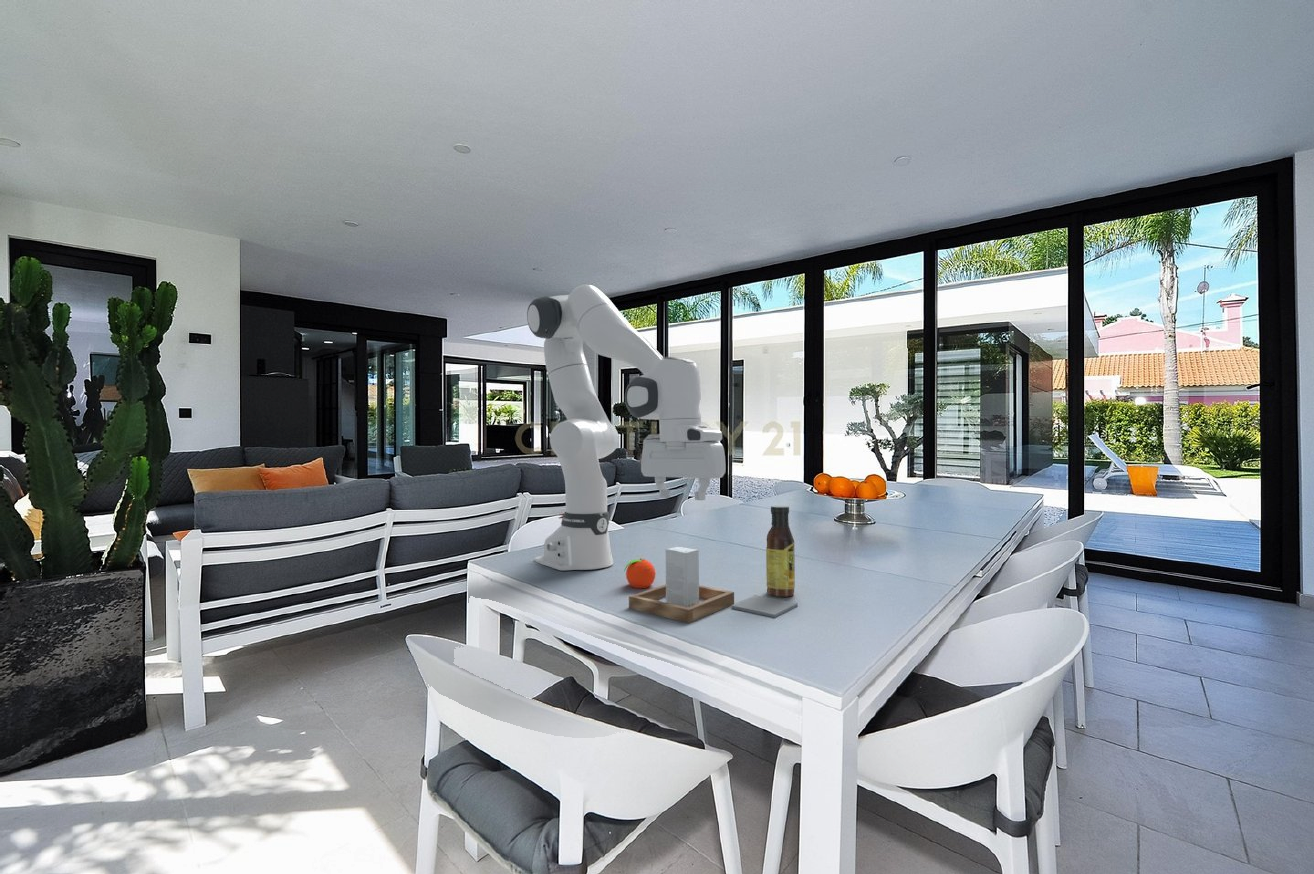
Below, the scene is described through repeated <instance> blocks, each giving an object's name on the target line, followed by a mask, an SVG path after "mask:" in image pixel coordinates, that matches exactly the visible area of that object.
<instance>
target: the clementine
mask: <svg viewBox="0 0 1314 874" xmlns="http://www.w3.org/2000/svg"><path fill="white" fill-rule="evenodd" d="M625 571H626V572H625ZM623 572H625V577H626V580H627V582H628V585H630V586H631V587H632V588H635V589H647V588H649V587H650V586H651V585H653V583H654V582H655V578H656V575H657V574H656V569H655V566H654V565H653V564H652V563H651V562H650V560H647V559H643V558H639V559H634V560H631V561H630V562H628V563H627V565H625V568H624V571H623Z"/></svg>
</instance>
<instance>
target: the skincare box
mask: <svg viewBox="0 0 1314 874" xmlns="http://www.w3.org/2000/svg"><path fill="white" fill-rule="evenodd" d="M699 551H700V550H699V549H695V548H688V547H681V546H675V547H670V548H665V584H666V597H665V603H670V604H674V605H679V606H683V607H690V606H693V605H695V604H698V603H700V597H699V585H700V567H699V566H700V563H699V561H700V559H699V557H700V556H699V554H700V553H699Z"/></svg>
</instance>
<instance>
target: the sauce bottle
mask: <svg viewBox="0 0 1314 874" xmlns="http://www.w3.org/2000/svg"><path fill="white" fill-rule="evenodd" d="M770 514H771V527H770V529H769V530H768V532H767V534H766V548H765V549H766V558H765V559H766V560H765V561H766V563H765V565H766V567H765V568H766V593H767V594H768V595H770V596H772V597H776V598H787V597H791V596H793V595H794V594H795V587H796V583H795V580H796V579H795V578H796V575H795V574H796V573H795V572H796V571H795V567H796V566H795V564H796V563H795V558H796V557H795V540H794V537H793V533H792V531H791V528H790V523H789V514H790V507H789V506H787V505H771V506H770Z"/></svg>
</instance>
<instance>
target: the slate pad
mask: <svg viewBox="0 0 1314 874" xmlns="http://www.w3.org/2000/svg"><path fill="white" fill-rule="evenodd" d="M730 606H731V609H733V610H737V611H742V612H746V613H751V614H756V615H761V616H766V617H769V618H770V617H771V618H774V619H775V618H777V617H779V616H781V615H783V614H785V613H787V612H789V611H790V610H792V609H795V608H796V607H798V603H797V602H794V601H787V600H782V599H779V598H778V599H777V598H772V597H766V596H763V595H758V594H757V595H756V594H755V595H753V596H750V597H748V598H745V599H743V600H741V601H739V602H737V603H734V604H732V605H730Z"/></svg>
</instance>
